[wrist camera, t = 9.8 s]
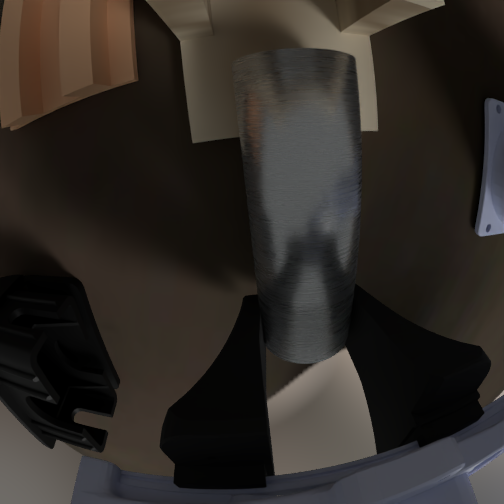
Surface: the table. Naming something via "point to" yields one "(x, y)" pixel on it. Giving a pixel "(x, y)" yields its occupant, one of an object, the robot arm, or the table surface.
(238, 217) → the table surface
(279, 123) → the axle
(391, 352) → the robot arm
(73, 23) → the cradle
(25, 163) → the table surface
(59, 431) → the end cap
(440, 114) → the table surface
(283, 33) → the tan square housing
